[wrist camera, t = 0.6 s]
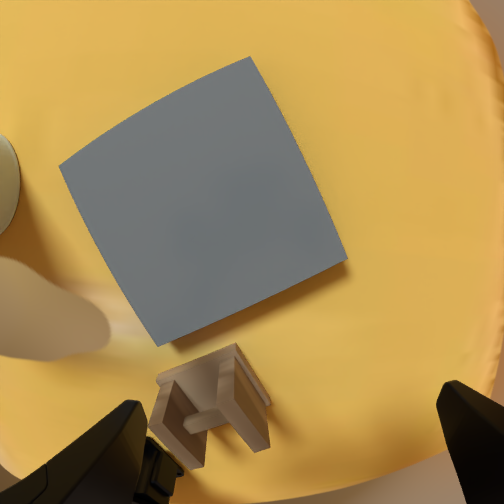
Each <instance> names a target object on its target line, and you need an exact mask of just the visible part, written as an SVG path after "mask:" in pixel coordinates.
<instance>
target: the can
mask: <svg viewBox="0 0 504 504" xmlns="http://www.w3.org/2000/svg"><path fill="white" fill-rule="evenodd" d="M19 192H20V172H19V165H18V160H17V157H16V154H15V151H14V149H13V147H12V145H11V144H10V142H9V141H8V140H7V139H6V138H5V137H4V136H3V135H1V134H0V234H1V233H2V232H3V231H4V230H5V229H6V228H7V227H8V225H9V224H10V222H11V220H12V218H13V216H14V214H15V211H16V208H17V204H18V199H19Z"/></svg>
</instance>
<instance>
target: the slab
mask: <svg viewBox="0 0 504 504" xmlns="http://www.w3.org/2000/svg"><path fill="white" fill-rule="evenodd" d="M59 168H60V170H61V173H62V175H63V177H64V180H65V182H66V184H67V186H68V189H69V191H70V193H71V195H72V197H73V199H74V202H75V204H76V206H77V208H78V210H79V212H80V214H81V216H82V218H83V220H84V222H85V224H86V226H87V228H88V230H89V232H90V234H91V236H92V238H93V240H94V242H95V244H96V246H97V247H98V249H99V251H100V253H101V255H102V257H103V258H104V260H105V262H106V264H107V266H108V267H109V269H110V271H111V273H112V275H113V276H114V278H115V280H116V281H117V283H118V285H119V287H120V288H121V290H122V292H123V293H124V295H125V297H126V298H127V300H128V302H129V303H130V305H131V307H132V308H133V310H134V311H135V313H136V315H137V316H138V318H139V319H140V321H141V322H142V324H143V325H144V327H145V329H146V330H147V332H148V333H149V335H150V336H151V338H152V339H153V341H154V342H155V344H156V345H157V347H159V346H161V345H163V344H166V343H168V342H170V341H173V340H175V339H177V338H180V337H182V336H184V335H187V334H189V333H191V332H194V331H196V330H198V329H200V328H203V327H205V326H207V325H209V324H212V323H214V322H216V321H218V320H221V319H223V318H225V317H227V316H229V315H232V314H234V313H236V312H238V311H240V310H243V309H245V308H247V307H249V306H251V305H253V304H255V303H258V302H260V301H262V300H264V299H266V298H268V297H270V296H272V295H275V294H277V293H279V292H281V291H283V290H285V289H287V288H289V287H291V286H293V285H295V284H297V283H299V282H302V281H304V280H306V279H308V278H310V277H312V276H314V275H316V274H318V273H320V272H322V271H324V270H326V269H328V268H330V267H332V266H334V265H336V264H338V263H340V262H342V261H344V260H346V259H348V258H347V255H346V253H345V250H344V248H343V245H342V243H341V241H340V238H339V236H338V233H337V231H336V229H335V226H334V224H333V221H332V219H331V217H330V214H329V212H328V210H327V208H326V205H325V203H324V201H323V199H322V196H321V194H320V192H319V190H318V187H317V185H316V183H315V181H314V179H313V177H312V174H311V172H310V170H309V168H308V166H307V164H306V162H305V160H304V157H303V155H302V153H301V151H300V149H299V147H298V145H297V143H296V141H295V139H294V137H293V135H292V133H291V131H290V129H289V127H288V125H287V123H286V121H285V119H284V117H283V115H282V113H281V111H280V110H279V108H278V106H277V104H276V102H275V100H274V98H273V96H272V94H271V93H270V91H269V89H268V87H267V85H266V83H265V82H264V80H263V78H262V76H261V74H260V73H259V71H258V69H257V67H256V66H255V64H254V62H253V60H252V59H251V57H250V56H249V57H247V58H244V59H242V60H240V61H237V62H235V63H233V64H230V65H228V66H226V67H224V68H221V69H219V70H217V71H215V72H213V73H210V74H208V75H206V76H204V77H202V78H200V79H198V80H196V81H194V82H192V83H190V84H188V85H186V86H184V87H182V88H180V89H178V90H176V91H174V92H173V93H171V94H169V95H167V96H165V97H163V98H161V99H160V100H158V101H156V102H154V103H153V104H151V105H149V106H147V107H146V108H144V109H142V110H141V111H139V112H137V113H136V114H134V115H132V116H131V117H129V118H127V119H126V120H124V121H123V122H121V123H119V124H118V125H116V126H115V127H113V128H112V129H110V130H108V131H107V132H105V133H104V134H102V135H101V136H99V137H98V138H97V139H95V140H94V141H92V142H91V143H89V144H88V145H86V146H85V147H84V148H82V149H81V150H79V151H78V152H77V153H75V154H74V155H73V156H71V157H70V158H69V159H67V160H66V161H65V162H63V163H62V164H61V165H59Z"/></svg>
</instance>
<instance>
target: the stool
mask: <svg viewBox="0 0 504 504" xmlns="http://www.w3.org/2000/svg"><path fill="white" fill-rule="evenodd" d="M156 382H157V384H158V385H159V386H160V390H159V393H158V396H157V399H156V402H155V405H154V408H153V412H152V415H151V418H150V421H149V424H148V428H149V429H150V430H151V431H152V432H153V433H154V434H155V435H156V436H157V437H158V438H159V439H160V441H161V442H162V443H163V444H164V445H165V446H166V447H167V448H168V449H169V450H170V451H171V452H172V453H173V454H174V455H175V456H176V457H177V458H178V459H179V460H180V461H181V462H182V463H183V464H184V465H185V466H186V467H187V468H188V469H190V470H193V469H197V468H201V467H204V462H205V452H206V441H207V431H208V429H211V428H214V427H217V426H220V425H223V424H226V423H230V424H231V425H232V426H233V428H234V429H235V430H236V431H237V433H238V434H239V435H240V436H241V438H242V439H243V440H244V441H245V442H246V444H247V445H248V446H249V447H250V448H251V449H252V451H253V452H254V453H255V452H259V451H262V450H265V449H268V448H270V440H269V431H268V423H267V414H266V406H269V405H271V404H270V397H269V395H268V394H267V392H266V390H265V389H264V387H263V386H262V384H261V383H260V381H259V379H258V378H257V376H256V375H255V373H254V371H253V370H252V368H251V367H250V365H249V363H248V362H247V360H246V359H245V357H244V355H243V354H242V352H241V350H240V349H239V347H238V345H237V344H236V343H233V344H231V345H229V346H226V347H224V348H222V349H219V350H217V351H215V352H212V353H210V354H207V355H205V356H202V357H200V358H197V359H195V360H193V361H190V362H188V363H185V364H182V365H180V366H177V367H175V368H172V369H170V370H167V371H164V372H162V373H159V374H158V377H157V379H156Z"/></svg>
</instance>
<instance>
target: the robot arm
mask: <svg viewBox="0 0 504 504" xmlns="http://www.w3.org/2000/svg"><path fill="white" fill-rule="evenodd" d="M436 407H437V411H438V415H439V418H440V422H441V426H442V430H443V433H444V437H445V441H446V445H447V448H448V451H449V453H450V456H451V459H452V461H453V464H454V467H455V470H456V473H457V476H458V478H459V482H460V485H461V488H462V491H463V494H464V497H465V500H466V503H467V504H504V407H503V406H502V405H500V404H498V403H496V402H494V401H493V400H491V399H489V398H487V397H486V396H484V395H482V394H480V393H479V392H477V391H475V390H473V389H472V388H470V387H468V386H466V385H465V384H463V383H461V382H459V381H457V380H452V381H448V382H445V383H444V384H443V387H442V389H441V392H440V394H439V396H438V399H437V402H436ZM147 426H148V422H147V418H146V415H145V412H144V409H143V407H142V404H141V402H140V401H137V400H125V401H124V402H123V403H121V404H120V405H119V406H118V407H116V408H115V409H114V410H113V411H111V412H110V413H109V414H108V415H106V416H105V417H104V418H103V419H101V420H100V421H99V422H98V423H96V424H95V425H94V426H93V427H91V428H90V429H89V430H88V431H86V432H85V433H84V434H83V435H81V436H80V437H79V438H77V439H76V440H75V441H74V442H72V443H71V444H70V445H68V446H67V447H66V448H65V449H63V450H62V451H61V452H59V453H58V454H57V455H55V456H54V457H53V458H52V459H50V460H49V461H48V462H47V463H46V464H44V465H42V466H41V467H40V468H38V469H37V470H35V471H34V472H33V473H31V474H30V475H28V476H27V477H26V478H24V479H22V480H21V481H19V482H17V483H16V484H14V485H12V486H11V487H9V488H7V489H5V490H3V491H2V492H0V504H169V498H170V496H173V492H174V486H175V480H176V478H177V477H182V476H184V470H182V469H181V468H180V467H179V466H178V465H177V464H176V463H175V462H174V461H173V460H172V459H171V458H170V457H169V456H168V455H167V454H166V453H165V452H164V451H163V450H162V449H161V448H160V447H159V446H158V445H157V444H156V443H155V442H154V441H153V440H152V439H151V438H150V437H147V436H146V432H147Z"/></svg>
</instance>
